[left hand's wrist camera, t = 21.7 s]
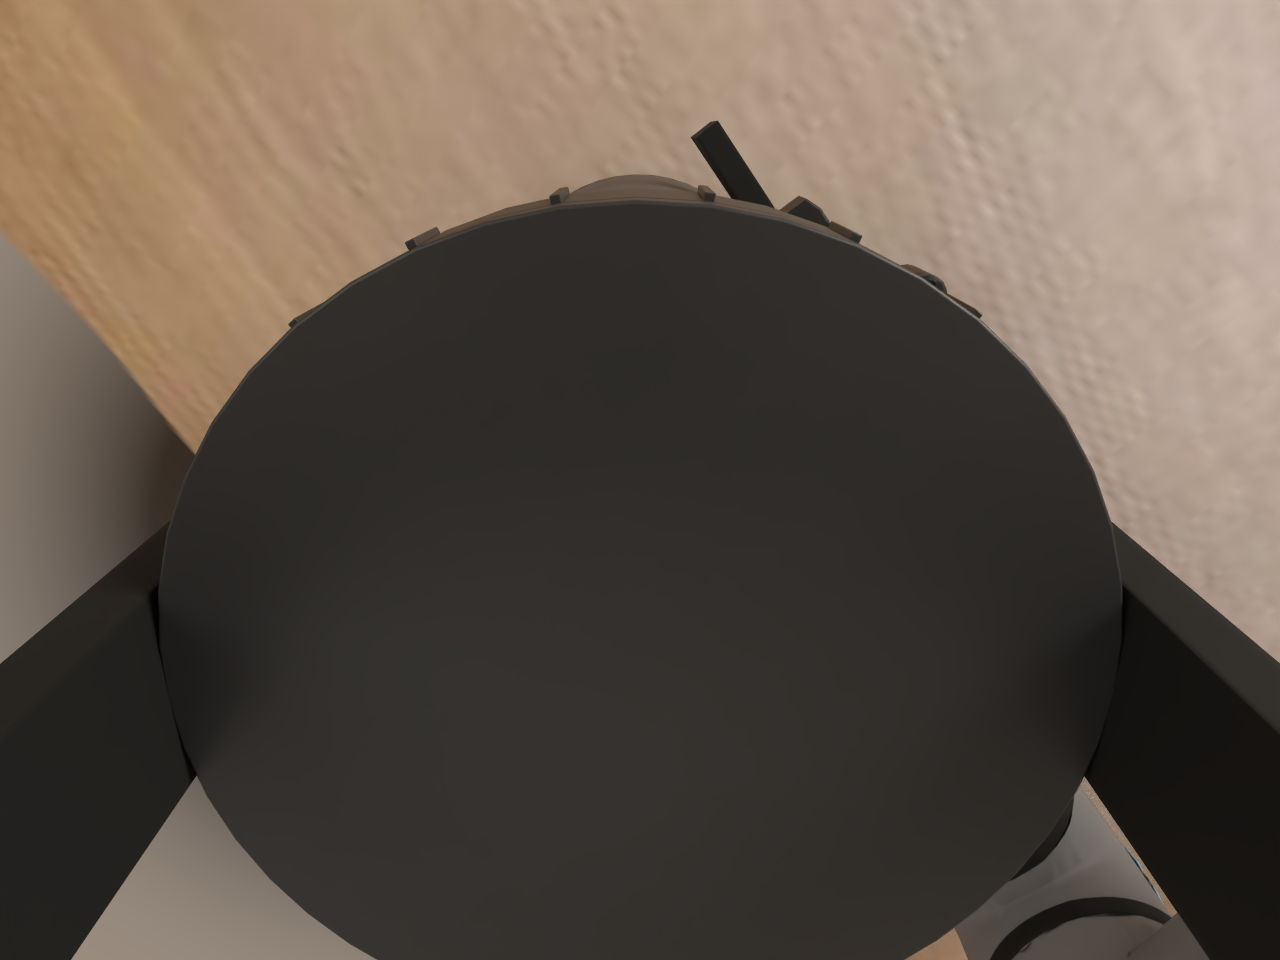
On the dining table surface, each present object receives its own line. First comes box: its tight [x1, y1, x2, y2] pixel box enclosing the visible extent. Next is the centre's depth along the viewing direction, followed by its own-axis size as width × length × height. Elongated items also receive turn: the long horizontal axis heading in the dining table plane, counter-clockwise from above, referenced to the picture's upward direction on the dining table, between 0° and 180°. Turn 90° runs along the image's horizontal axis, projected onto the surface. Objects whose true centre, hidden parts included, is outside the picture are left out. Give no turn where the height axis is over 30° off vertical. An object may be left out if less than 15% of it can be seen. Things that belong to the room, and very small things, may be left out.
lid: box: [158, 185, 1123, 960], centre depth 11 cm, size 12×12×2 cm
